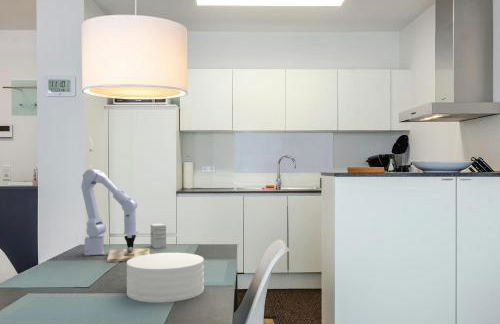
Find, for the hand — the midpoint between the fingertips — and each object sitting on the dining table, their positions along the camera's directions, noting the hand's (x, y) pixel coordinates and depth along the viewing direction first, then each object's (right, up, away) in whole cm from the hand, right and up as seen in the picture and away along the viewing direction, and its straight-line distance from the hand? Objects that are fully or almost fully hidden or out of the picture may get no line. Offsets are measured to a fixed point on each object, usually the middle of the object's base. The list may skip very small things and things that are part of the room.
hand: (130, 249), depth 233 cm
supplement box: (+10, -3, +22) cm, 24 cm away
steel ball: (0, 0, -2) cm, 2 cm away
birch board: (+1, -3, -4) cm, 5 cm away
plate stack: (+31, -3, -66) cm, 73 cm away
